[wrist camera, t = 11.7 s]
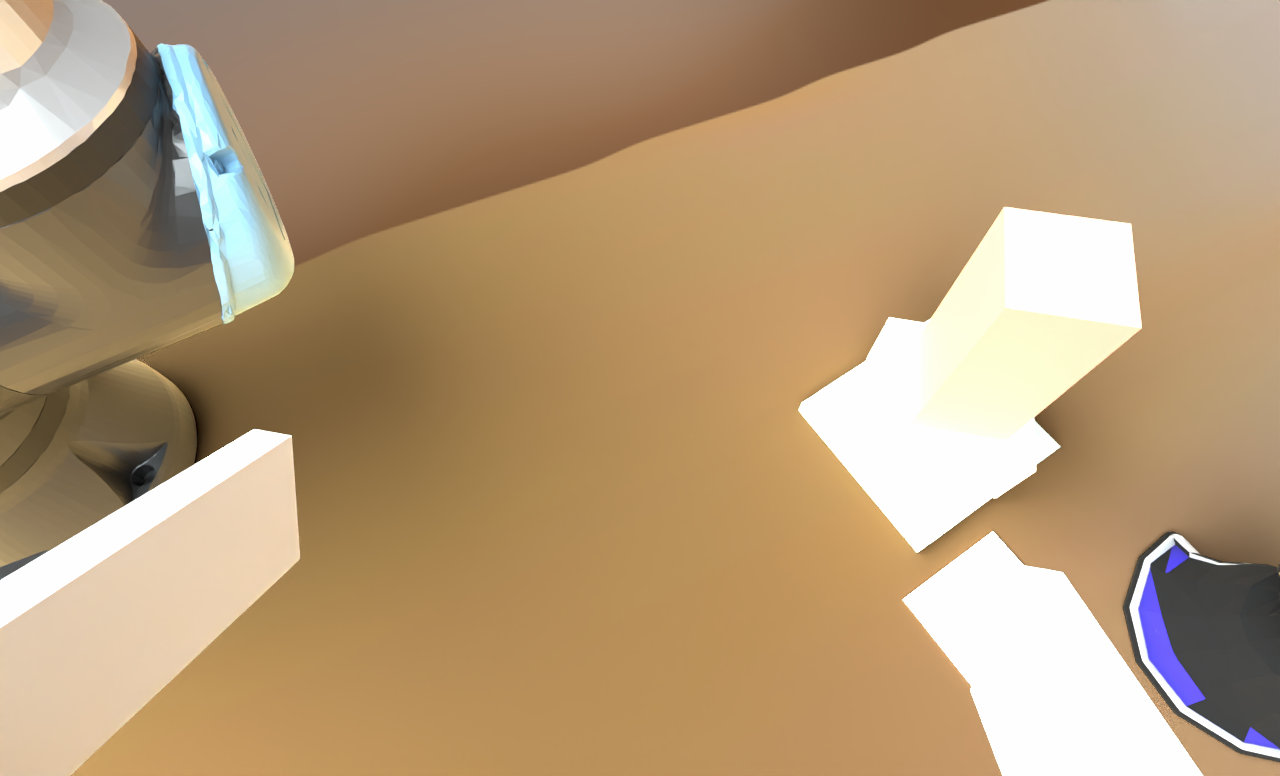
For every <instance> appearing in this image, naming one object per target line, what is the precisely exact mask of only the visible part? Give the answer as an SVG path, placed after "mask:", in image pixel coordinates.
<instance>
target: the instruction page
mask: <svg viewBox="0 0 1280 776" xmlns="http://www.w3.org/2000/svg"><path fill="white" fill-rule="evenodd" d="M1015 564H1019V565H1023V564H1022V563H1021V562H1020V561H1019V560H1018V558H1017V557H1016V556H1015V555H1014V554H1013V553H1012V552H1011V551H1010V550H1009V548H1008V547H1007V546H1006V545H1005V544H1004V543H1003V542H1002V541H1001V539H1000V538H999V537H998V536H997V535H996V534H995V533H994V532H993V531H992V532H991V533H990V534H988V535H987V536H986V537H984V538H983V539H982V540H980V541H979V542H978V543H976V544H975V545H974V546H972V547H971V548H970V549H968V550H967V551H966V552H964V553H963V554H962V555H960V556H959V557H958V558H956V559H955V560H954V561H952V562H951V563H950V564H948V565H947V566H946V567H945V568H943V569H942V570H941V571H939V572H938V573H937V574H935V575H934V576H933V577H931V578H930V579H929V580H927V581H926V582H925V583H923V584H922V585H921V586H919V587H918V588H917V589H915V590H914V591H913V592H911V593H910V594H909V595H907V596H906V597H905V598H903V599H902V600H903V601H904V602H905V604H906V605H907V606H908V607H909V609H910V610H911V611H912V612H913V614H914V615H915V616H916V617H917V619H918V620H919V621H920V622H921V624H922V625H923V626H924V627H925V629H926V630H927V631H928V632H929V634H930V635H931V636H932V637H933V639H934V640H935V641H936V642H937V644H938V645H939V646H940V647H941V649H942V650H943V651H944V652H945V654H946V655H947V656H948V657H949V659H950V660H951V661H952V662H953V664H954V665H955V666H956V667H957V669H958V670H959V671H960V672H961V674H962V675H963V676H964V677H965V679H966V680H967V681H968V682H969V684H970V685H971V686H972V684H973V681H974V679H975V676H976V673H977V670H978V667H979V665H980V662H981V659H982V656H983V653H984V651H985V648H986V645H987V642H988V639H989V637H990V634H991V631H992V628H993V625H994V623H995V620H996V617H997V614H998V611H999V609H1000V606H1001V603H1002V600H1003V597H1004V595H1005V592H1006V589H1007V586H1008V583H1009V580H1010V578H1011V575H1012V572H1013V569H1014V566H1015Z"/></svg>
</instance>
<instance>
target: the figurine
mask: <svg viewBox="0 0 1280 776" xmlns="http://www.w3.org/2000/svg"><path fill="white" fill-rule="evenodd" d="M1123 610H1124V614H1125V618H1126V622H1127V627H1128V631H1129V635H1130V639H1131V643H1132V648H1133V652H1134V656H1135V660H1136V662H1137V664H1138V665H1139V666H1140V668H1141V669H1142V670H1143V672H1144V673H1145V675H1146V676H1147V677H1148V679H1149V680H1150V681H1151V683H1152V684H1153V685H1154V687H1155V688H1156V689H1157V691H1158V692H1159V693H1160V695H1161V696H1162V697H1163V699H1164V700H1165V701H1166V703H1167V704H1168V705H1169V707H1170V708H1171V710H1172V711H1173V712H1174V713H1175V714H1177V715H1178V716H1180V717H1181V718H1183V719H1185V720H1186V721H1188V722H1189V723H1191V724H1193V725H1194V726H1196V727H1197V728H1199V729H1201V730H1202V731H1204V732H1206V733H1207V734H1209V735H1210V736H1212V737H1214V738H1215V739H1217V740H1218V741H1220V742H1222V743H1223V744H1225V745H1226V746H1228V747H1230V748H1231V749H1233V750H1235V751H1236V752H1238V753H1241V754H1245V755H1250V756H1254V757H1259V758H1263V759H1268V760H1272V761H1277V762H1280V564H1279V565H1278V568H1277V567H1274V566H1270V565H1265V564H1252V563H1233V562H1222V561H1219V560H1216V559H1213V558H1210V557H1207V556H1204V555H1201V554H1199V553H1198V551H1197V550H1196V549H1195V548H1194V547H1193V546H1192V545H1191V544H1190V543H1189V542H1188V541H1187V540H1186V539H1185V538H1184V537H1183V536H1181V535H1180V534H1178V533H1175V532H1167V533H1166V534H1164V535H1163V536H1162V537H1161V538H1160V539H1159V540H1158V541H1157V542H1156V543H1155V544H1153V545H1152V546H1151V547H1150V548H1149V549H1148V550H1147V551H1146V552H1145V553H1144V554H1142V555H1141V556H1140V557H1139V558H1138V561H1137V564H1136V568H1135V571H1134V574H1133V577H1132V580H1131V584H1130V587H1129V590H1128V593H1127V596H1126V599H1125V603H1124V606H1123Z"/></svg>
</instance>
